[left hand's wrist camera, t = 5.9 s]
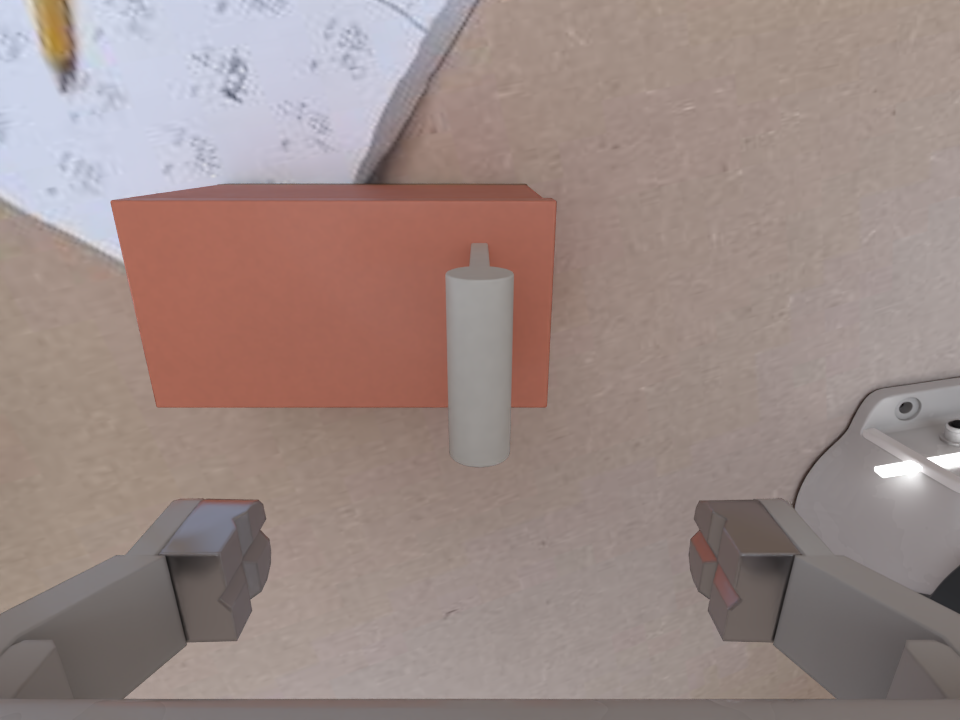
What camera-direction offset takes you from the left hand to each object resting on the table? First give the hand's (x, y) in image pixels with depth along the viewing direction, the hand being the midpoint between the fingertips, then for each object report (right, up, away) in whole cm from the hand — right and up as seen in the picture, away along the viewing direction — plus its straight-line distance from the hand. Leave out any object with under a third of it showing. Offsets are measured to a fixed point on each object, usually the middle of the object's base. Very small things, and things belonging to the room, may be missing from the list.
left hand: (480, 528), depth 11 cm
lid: (-6, +6, +15) cm, 17 cm away
